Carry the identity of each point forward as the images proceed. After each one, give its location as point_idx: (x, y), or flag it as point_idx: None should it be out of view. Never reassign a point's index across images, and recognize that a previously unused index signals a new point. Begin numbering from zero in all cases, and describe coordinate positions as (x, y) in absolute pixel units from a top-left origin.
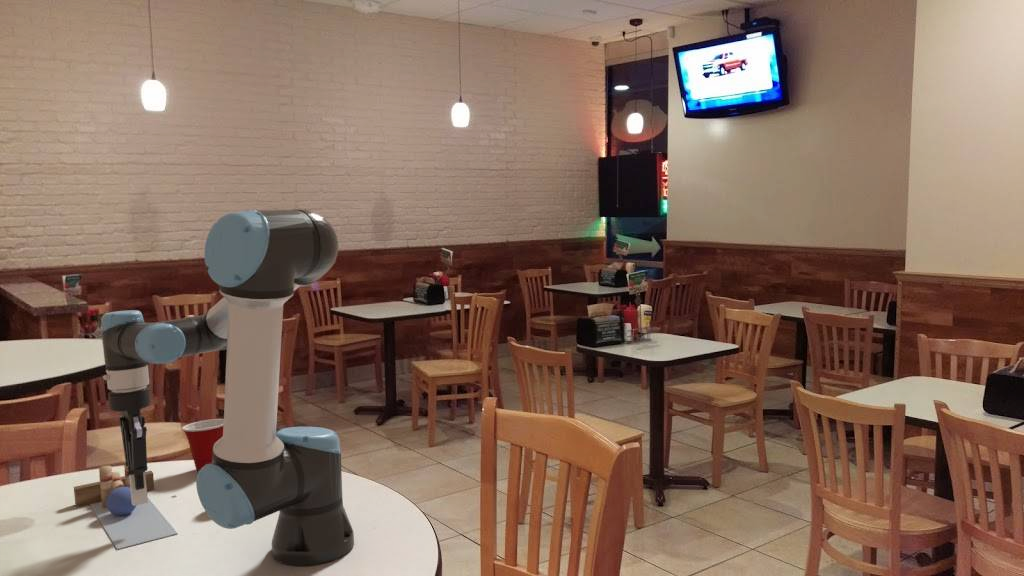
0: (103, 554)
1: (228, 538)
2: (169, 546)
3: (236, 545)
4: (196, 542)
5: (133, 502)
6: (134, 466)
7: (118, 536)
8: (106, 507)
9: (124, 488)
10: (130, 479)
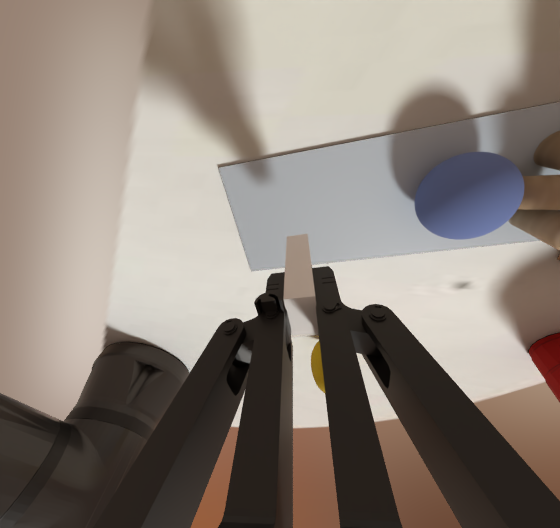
0: (204, 135)
1: (204, 318)
2: (202, 254)
3: (176, 321)
4: (204, 287)
5: (286, 242)
6: (206, 351)
7: (291, 172)
8: (542, 143)
9: (477, 221)
10: (292, 283)
